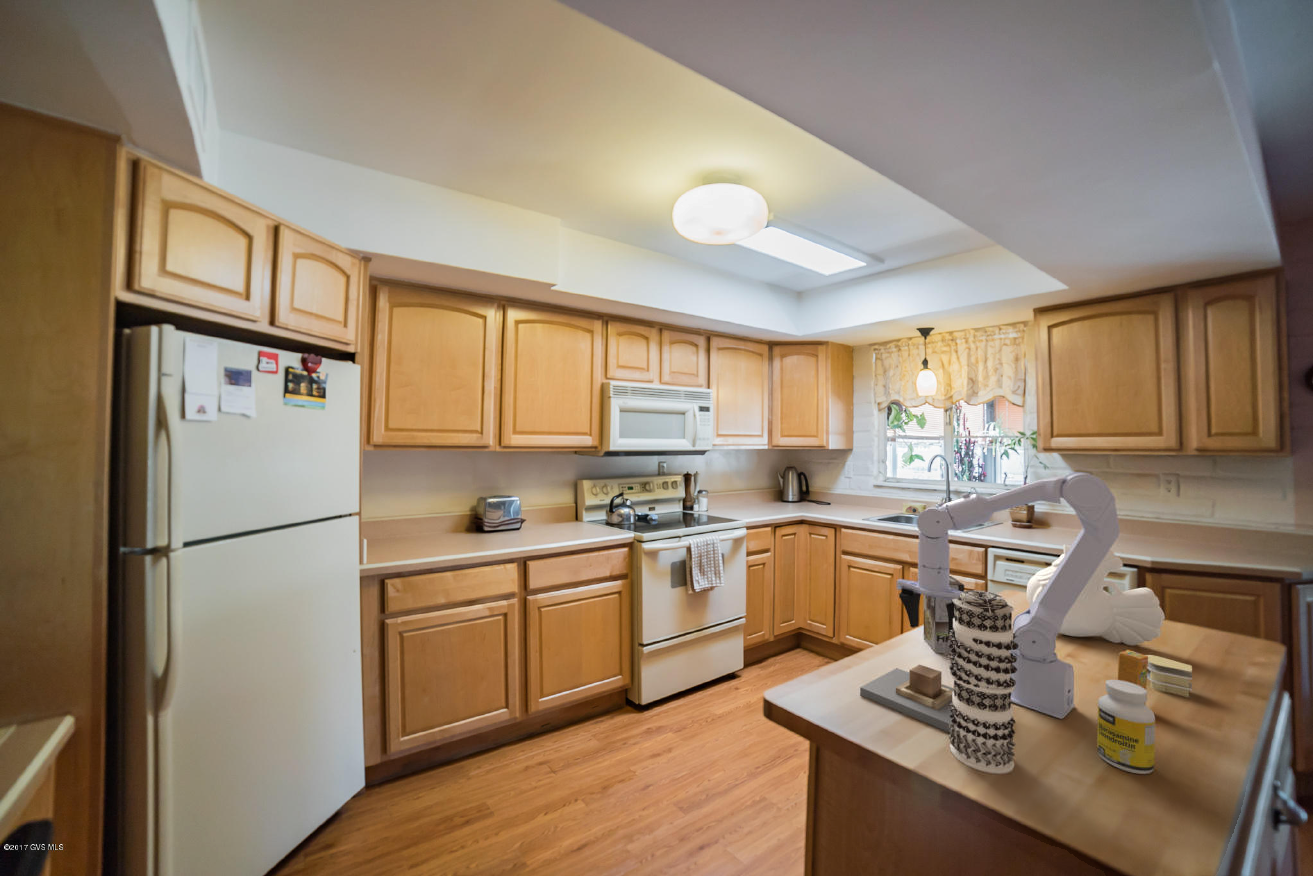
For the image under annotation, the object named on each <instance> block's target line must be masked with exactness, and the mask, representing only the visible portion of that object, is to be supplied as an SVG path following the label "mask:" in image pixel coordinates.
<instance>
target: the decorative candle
mask: <svg viewBox="0 0 1313 876" xmlns="http://www.w3.org/2000/svg"><path fill="white" fill-rule="evenodd" d="M952 601H953V603H954V604H955V608H954V613H955V617H954V618H953V630H951V631H950V634H949V635H948V637H949V638H950V643H949V644H948V646H949V647H950V651H951V652H952V653H951V654H950V656H949V657H948V659H949V661H950V665H949V667H948V668H949V670H950V676H951V679H953V688H954V691H953V692H952V703H951V704H950V708H951V712H952V713H951V714H950V718H951V722H952V723H951V724H950V725H949V729H950V733H949V735H948V739H949V741H950V744H949V749H950V752H951V754H952V755H953V756H954V758H955V759H957V761H959V762H961V763H962V764H964V765H965V766H967V767H970V768H972V769H975V770H977V771H980V772H985V773H989V774H995V775H996V774H998V775H1001V774H1002V775H1003V774H1008V773H1011V772H1012V771H1013V770H1014V768H1015V763H1014V759H1015V758H1014V757H1015V756H1016V753H1015V752H1014V750H1015V748H1014V747H1015V746H1016V743H1015V741H1013V740H1014V735H1015V734H1016V731H1015V730H1014V725H1015V724H1016V720H1015V719H1014V716H1013V709H1014V708H1013V706H1012V702H1011V692H1013V690H1014V689H1015V684H1016V682H1015V680H1014V679H1013V678H1012V677H1011V676H1010V674H1013V673H1015V672H1016V671H1017V668H1016V667H1015V666H1014V665H1013V664H1012V663H1015V662H1016V661H1017V657H1016V656H1014V655H1013V654H1012V653H1010V651H1011V650H1016V649H1017V648H1018V647H1019V646H1018V644H1017V643H1015V642H1014V639H1015V638H1016V637H1017V636H1016V635H1015V633H1014V629H1013V620H1012V619H1013V612H1014V611H1015V608H1014V607H1013V606H1011V605H1009V604H1008V602H1007V601H1006V599H1005V598H1004V597H1002V596H1001V595H999V594H997V593H993V592H988V591H984V590H975V589H974V590H973V589H972V590H970V589H969V590H964V592H962V593H961V594H960V595H959V596H958V597H957V598H954V599H953V600H952ZM953 636H955V638H954V637H953ZM953 645H955V646H954V647H953Z"/></svg>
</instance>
